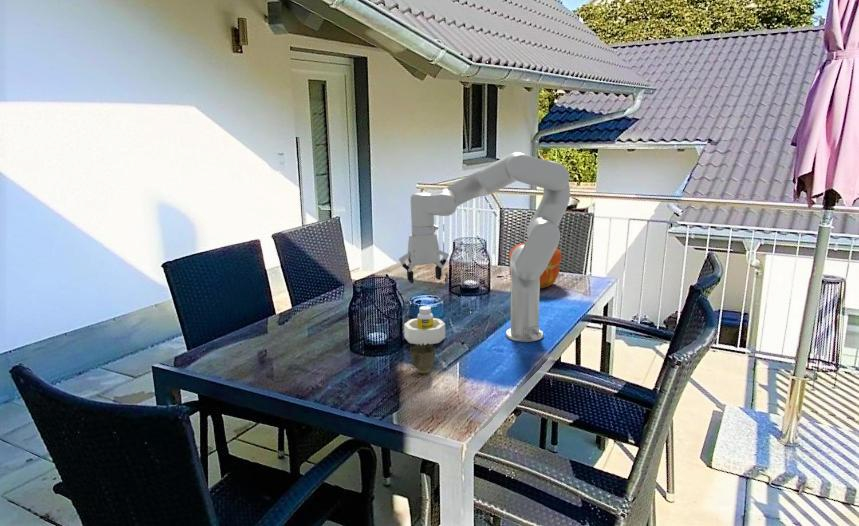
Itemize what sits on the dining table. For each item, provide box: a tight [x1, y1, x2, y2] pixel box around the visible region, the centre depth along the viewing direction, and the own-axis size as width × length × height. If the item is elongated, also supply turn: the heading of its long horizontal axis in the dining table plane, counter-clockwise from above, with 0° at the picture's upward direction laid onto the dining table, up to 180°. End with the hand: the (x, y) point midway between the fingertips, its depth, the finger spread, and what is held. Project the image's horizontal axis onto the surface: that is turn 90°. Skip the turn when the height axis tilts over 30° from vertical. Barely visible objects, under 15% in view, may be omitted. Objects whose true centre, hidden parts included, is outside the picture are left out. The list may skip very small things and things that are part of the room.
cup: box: [409, 343, 436, 375], centre depth 174 cm, size 8×7×8 cm
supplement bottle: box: [416, 305, 434, 329], centre depth 202 cm, size 5×5×10 cm
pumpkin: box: [508, 242, 563, 289], centre depth 260 cm, size 23×23×20 cm
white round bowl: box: [403, 317, 446, 346], centre depth 203 cm, size 13×13×5 cm
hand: (424, 280), depth 199 cm, fingers open, 9 cm apart
